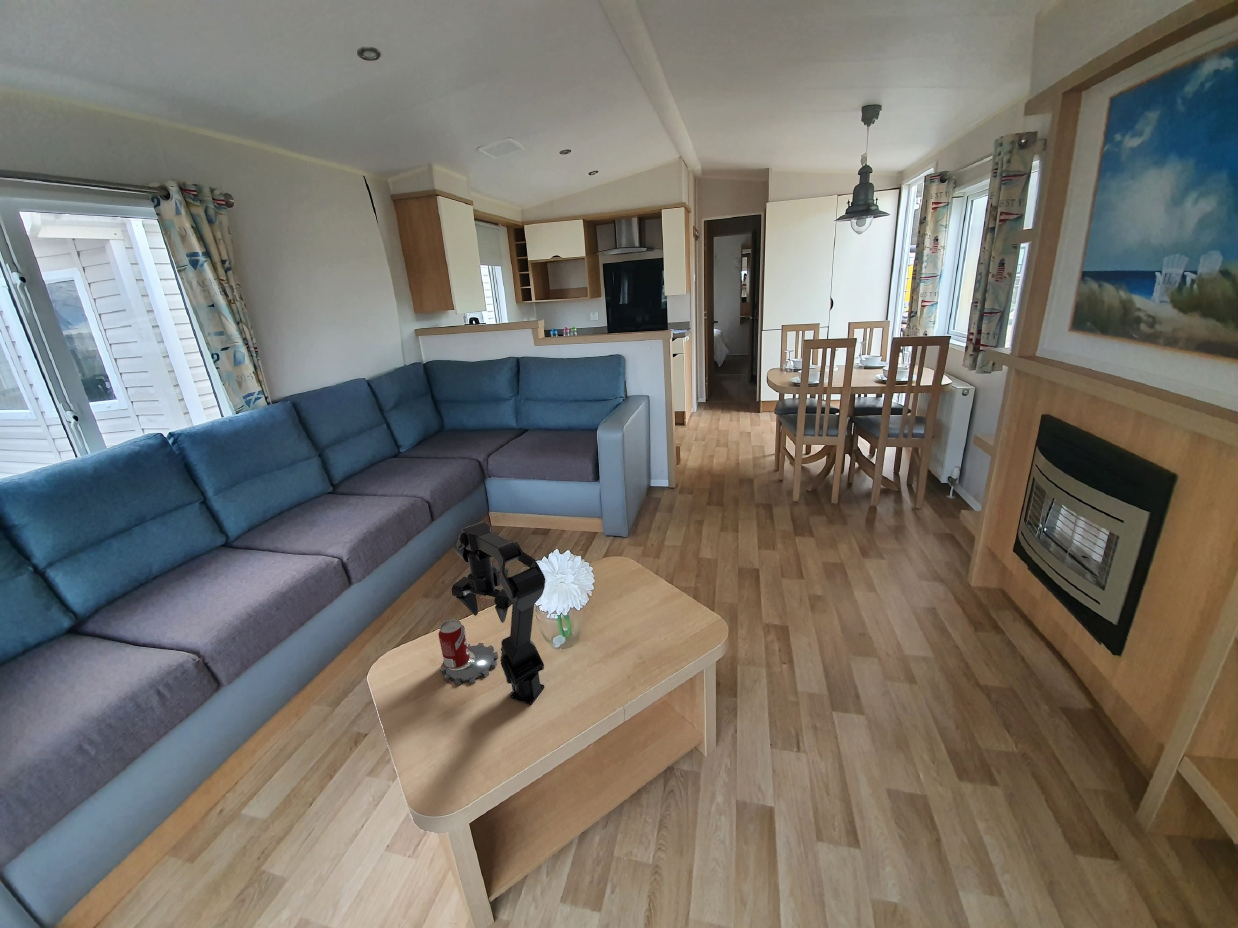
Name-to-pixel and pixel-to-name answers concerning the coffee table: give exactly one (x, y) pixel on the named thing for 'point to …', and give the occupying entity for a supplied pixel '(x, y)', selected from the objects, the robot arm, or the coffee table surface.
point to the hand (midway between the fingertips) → (489, 618)
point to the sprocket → (473, 665)
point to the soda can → (454, 644)
